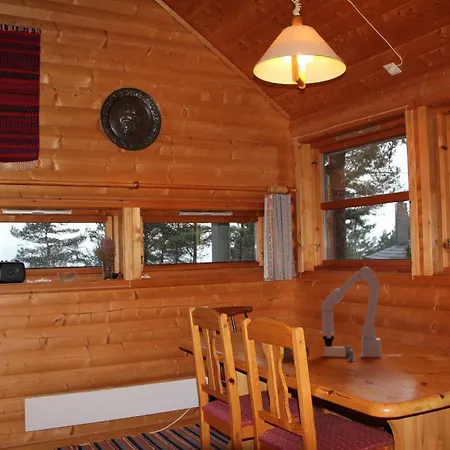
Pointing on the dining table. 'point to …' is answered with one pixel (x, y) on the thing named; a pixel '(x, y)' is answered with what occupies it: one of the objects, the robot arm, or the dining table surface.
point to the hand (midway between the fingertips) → (328, 350)
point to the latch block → (351, 355)
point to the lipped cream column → (334, 351)
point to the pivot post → (347, 351)
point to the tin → (289, 355)
